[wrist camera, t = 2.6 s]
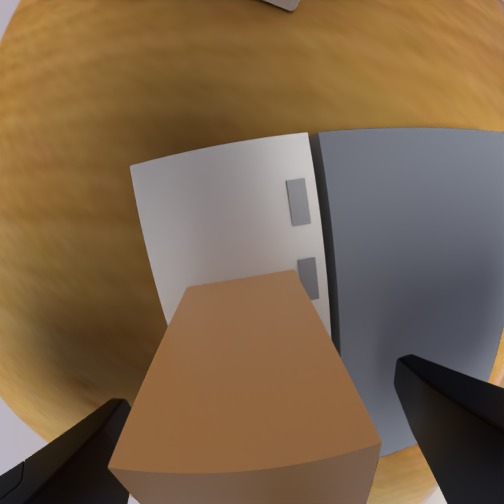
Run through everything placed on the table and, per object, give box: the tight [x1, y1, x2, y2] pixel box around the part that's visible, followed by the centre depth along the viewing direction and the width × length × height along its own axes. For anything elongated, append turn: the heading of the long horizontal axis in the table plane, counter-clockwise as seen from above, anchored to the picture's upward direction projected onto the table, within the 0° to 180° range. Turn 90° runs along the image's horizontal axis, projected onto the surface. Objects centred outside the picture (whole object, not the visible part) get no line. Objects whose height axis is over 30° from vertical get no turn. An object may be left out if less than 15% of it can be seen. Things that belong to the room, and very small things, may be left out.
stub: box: [108, 132, 382, 504], centre depth 6 cm, size 12×4×6 cm, turn 9°
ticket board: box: [309, 128, 504, 458], centre depth 8 cm, size 12×7×2 cm, turn 9°
